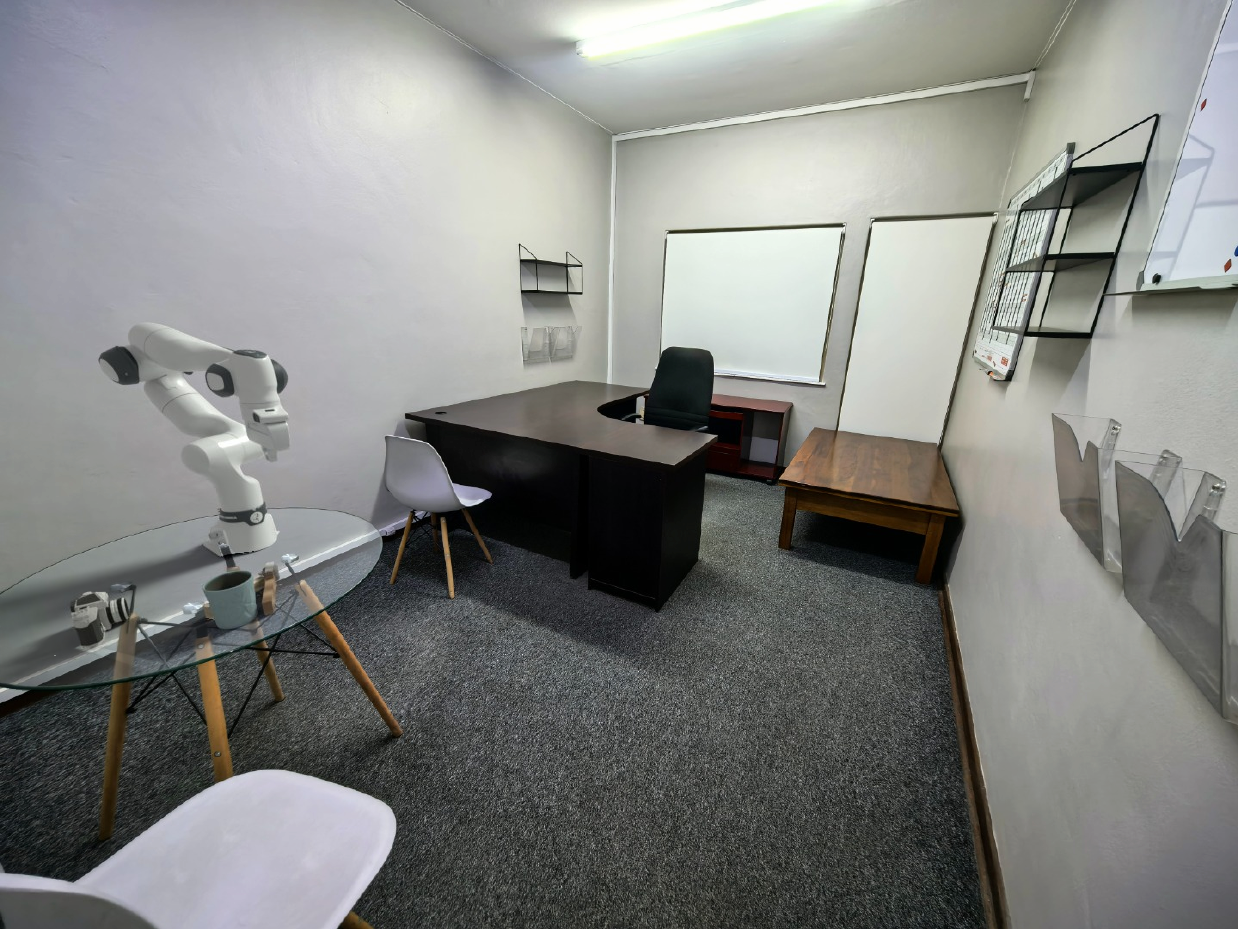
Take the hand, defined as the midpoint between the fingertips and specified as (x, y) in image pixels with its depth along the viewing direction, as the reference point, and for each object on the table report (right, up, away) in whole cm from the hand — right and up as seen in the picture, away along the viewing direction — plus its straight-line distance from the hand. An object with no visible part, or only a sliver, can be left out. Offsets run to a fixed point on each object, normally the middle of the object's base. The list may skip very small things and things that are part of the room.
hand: (271, 460), depth 126 cm
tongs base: (-10, -40, +3) cm, 41 cm away
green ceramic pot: (-5, -43, -6) cm, 43 cm away
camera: (-34, -43, -11) cm, 56 cm away
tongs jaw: (-3, -39, +4) cm, 40 cm away
